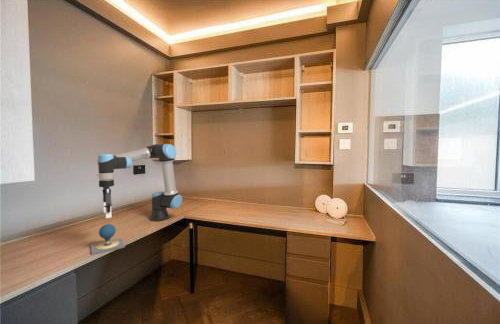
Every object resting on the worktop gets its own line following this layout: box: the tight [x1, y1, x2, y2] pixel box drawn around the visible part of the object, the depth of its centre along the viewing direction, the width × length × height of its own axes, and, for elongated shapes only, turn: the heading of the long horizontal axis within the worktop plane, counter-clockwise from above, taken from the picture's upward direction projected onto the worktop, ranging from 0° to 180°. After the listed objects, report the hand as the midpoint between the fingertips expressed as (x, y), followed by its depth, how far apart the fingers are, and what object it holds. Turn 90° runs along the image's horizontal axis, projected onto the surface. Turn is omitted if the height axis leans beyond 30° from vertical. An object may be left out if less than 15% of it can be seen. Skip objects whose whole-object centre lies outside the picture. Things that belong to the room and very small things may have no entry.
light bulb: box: [98, 223, 117, 244], centre depth 129 cm, size 8×8×12 cm
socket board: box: [90, 237, 126, 256], centre depth 129 cm, size 16×15×2 cm
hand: (107, 214), depth 128 cm, fingers open, 13 cm apart
